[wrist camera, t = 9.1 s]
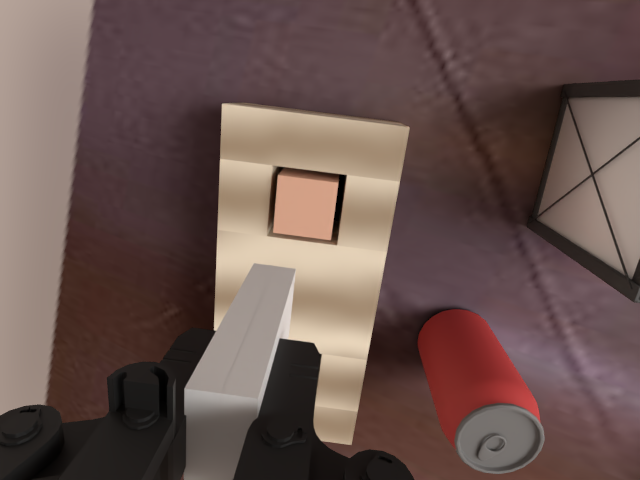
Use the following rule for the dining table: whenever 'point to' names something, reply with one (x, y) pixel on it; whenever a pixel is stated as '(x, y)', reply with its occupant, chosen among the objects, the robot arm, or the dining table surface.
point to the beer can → (479, 393)
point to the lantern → (595, 182)
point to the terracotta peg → (305, 203)
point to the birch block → (311, 253)
